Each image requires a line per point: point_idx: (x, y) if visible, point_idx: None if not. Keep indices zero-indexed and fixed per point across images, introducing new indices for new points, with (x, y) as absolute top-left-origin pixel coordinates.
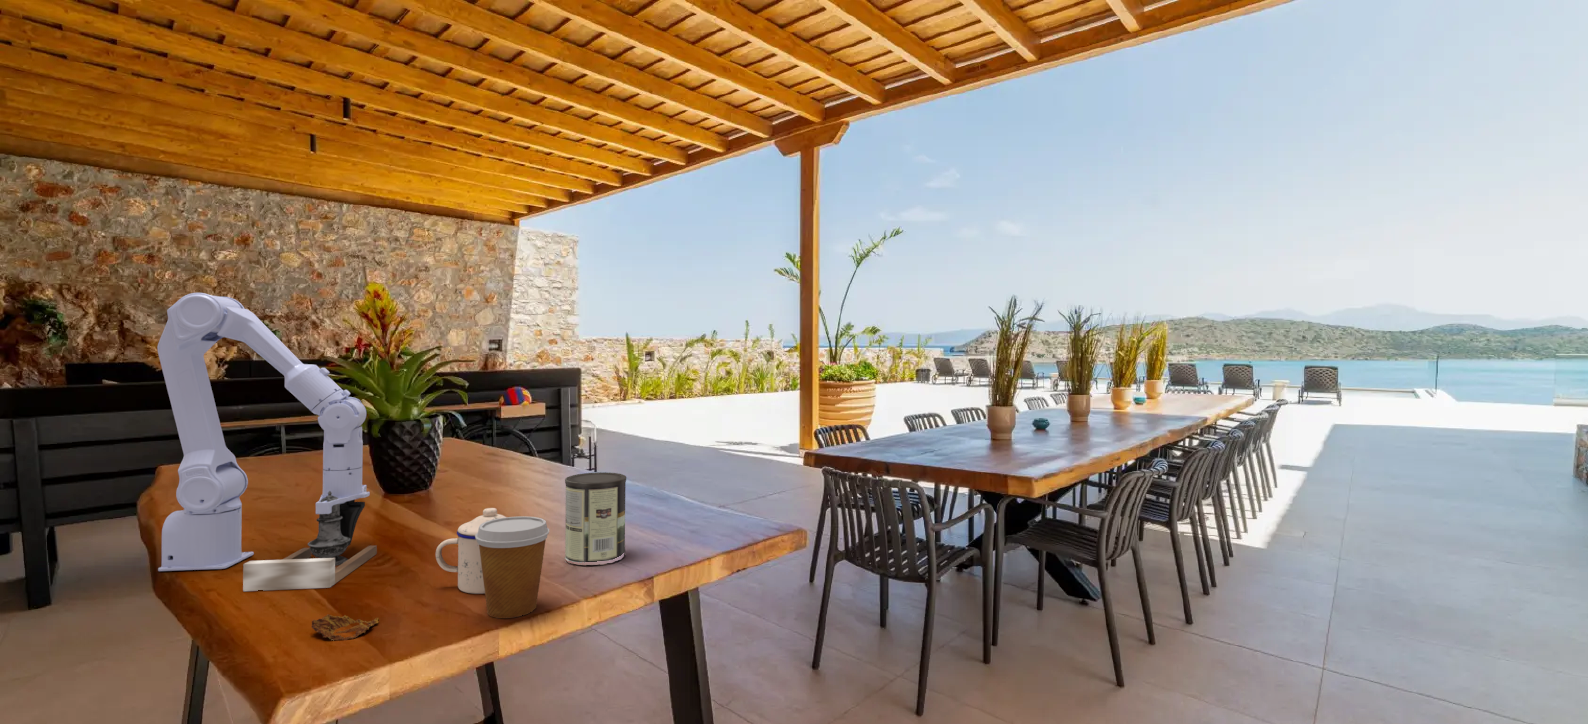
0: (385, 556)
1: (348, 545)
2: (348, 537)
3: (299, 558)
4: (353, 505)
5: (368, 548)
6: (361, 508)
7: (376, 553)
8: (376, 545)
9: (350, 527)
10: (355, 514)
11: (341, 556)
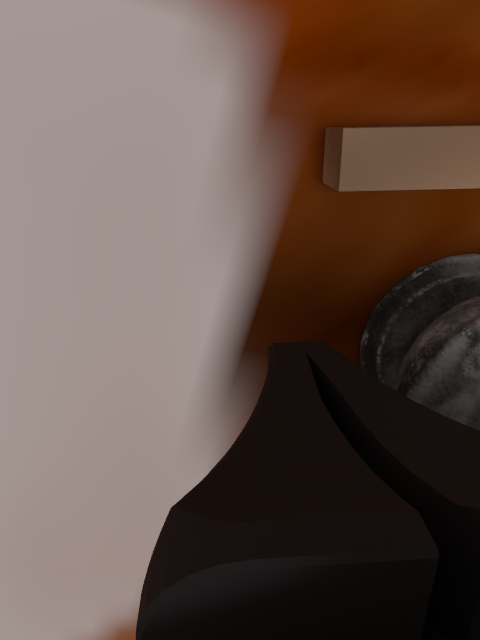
0: (401, 25)
1: (302, 342)
2: (471, 335)
3: None
4: (417, 631)
5: (425, 160)
6: (303, 496)
7: (328, 127)
8: (344, 129)
9: (389, 399)
10: (427, 464)
11: (410, 314)
